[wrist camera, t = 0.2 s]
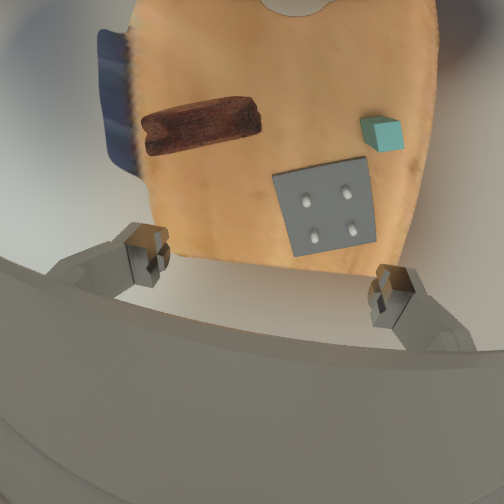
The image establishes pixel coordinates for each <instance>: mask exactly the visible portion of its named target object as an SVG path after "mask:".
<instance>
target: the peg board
mask: <svg viewBox="0 0 504 504" xmlns="http://www.w3.org/2000/svg"><path fill="white" fill-rule="evenodd" d="M272 179H273V183H274V186H275V189H276V193H277V196H278V200H279V203H280V207H281V210H282V214H283V217H284V221H285V225H286V228H287V232H288V236H289V239H290V243H291V247H292V250H293V254H294V257H298V256H304V255H309V254H314V253H320V252H325V251H330V250H336V249H341V248H346V247H352V246H357V245H362V244H367V243H372V242H377V241H376V228H375V217H374V208H373V199H372V191H371V184H370V177H369V170H368V164H367V158H366V157H365V156H364V157H358V158H352V159H346V160H341V161H336V162H330V163H325V164H320V165H315V166H311V167H306V168H301V169H297V170H292V171H288V172H283V173H279V174H275V175H272Z"/></svg>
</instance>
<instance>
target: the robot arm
mask: <svg viewBox="0 0 504 504" xmlns="http://www.w3.org/2000/svg"><path fill="white" fill-rule="evenodd" d="M260 1H261V2H262V3H263V4H264V5H265V6H266V7H267V8H269V9H270V10H272V11H274V12H276V13H279V14H282V15H286V16H307V15H311V14H313V13H316V12H318V11H319V10H321V9H322V8H323V7H324V6H325V5H327V4H328V3H329V2H332V1H335V0H260ZM168 238H169V234H168V229H167V228H166V227H160V226H155V225H148V224H143V223H136V222H132V223H130V224H129V225H128V226H127V227H126V228H125V229H124V230H123V231H122V232H121V233H120V234H119V235H118V236H117V237H116V238H115V239H114V240H113V241H112V242H110V241H108V242H105V243H102V244H100V245H97V246H94V247H92V248H89V249H87V250H84V251H81V252H79V253H76V254H74V255H71V256H69V257H66V258H64V259H61V260H60V261H59V262H58V263H57V264H56V265H55V266H54V267H53V268H52V269H51V270H50V271H49V272H48V273H47V274H46V275H44V274H41V273H39V272H36V271H33V270H31V269H29V268H26V267H24V266H21V265H19V264H16V263H14V262H12V261H9V260H7V259H5V258H3V257H1V256H0V504H504V350H493V351H477V350H476V347H475V344H474V342H473V339H472V337H471V335H470V332H469V331H468V330H467V329H466V328H465V327H464V326H463V325H462V324H461V323H460V322H459V321H458V320H457V319H456V318H455V317H454V316H453V315H452V314H450V313H449V312H448V311H447V310H446V309H445V308H444V307H443V306H442V305H440V304H439V303H438V302H437V301H436V300H435V299H434V298H433V297H432V296H429V295H427V292H426V290H425V288H424V286H423V284H422V281H421V279H420V277H419V275H418V273H417V271H416V270H415V269H413V268H407V267H406V268H405V267H399V266H393V265H386V264H380V265H379V266H378V268H377V271H376V275H377V278H376V279H375V280H373V281H372V282H371V285H370V287H369V292H368V304H369V306H370V307H371V308H372V309H373V310H372V311H371V319H372V323H373V327H380V328H388V329H392V330H393V332H394V333H395V335H396V336H397V337H398V339H399V340H400V342H401V343H402V344H403V346H404V347H405V349H406V350H394V349H379V348H367V347H356V346H347V345H336V344H329V343H321V342H313V341H306V340H298V339H292V338H285V337H278V336H272V335H266V334H260V333H255V332H250V331H244V330H239V329H234V328H229V327H224V326H219V325H215V324H210V323H205V322H201V321H197V320H192V319H188V318H184V317H180V316H175V315H171V314H168V313H164V312H160V311H156V310H152V309H149V308H145V307H141V306H137V305H134V304H131V303H127V302H124V301H120V300H117V299H114V297H116V296H117V295H119V294H120V293H122V292H124V291H125V290H127V289H128V288H130V287H132V286H133V285H134V284H136V285H141V286H145V287H150V288H153V287H154V286H155V284H156V283H157V281H158V280H159V278H160V272H162V271H164V270H165V269H166V268H167V266H168V263H169V260H170V247H169V246H168V244H167V243H166V241H167V240H168Z"/></svg>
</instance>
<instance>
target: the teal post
mask: <svg viewBox="0 0 504 504" xmlns="http://www.w3.org/2000/svg"><path fill="white" fill-rule="evenodd" d="M360 122H361V127H362V131H363V136H364V141H365V143H366V144H368V145H369V146H371V147H372V148H374V149H375V150H376V151H378V152H385V151H392V150H399V149H404V142H403V136H402V129H401V124H400V121H398V120H395V119H391V118H388V117H384V116H378V117H371V118H364V119H360Z"/></svg>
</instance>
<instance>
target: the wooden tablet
mask: <svg viewBox="0 0 504 504" xmlns="http://www.w3.org/2000/svg"><path fill="white" fill-rule="evenodd" d="M141 125H142V128H143V129H144V131H145V132H146V133H147V136H146V140H145V147H146V152H147V154H148V155H149V156H157V155H164V154H169V153H175V152H180V151H184V150H189V149H194V148H198V147H202V146H206V145H211V144H215V143H220V142H224V141H229V140H234V139H239V138H241V137H243V138H244V137H248V136H252V135H255V134H258V133H260V132H261V130H262V129H261V116H260V113H259V112H258V111H257V106H256V104H255V102H254V101H253V99H252V98H250V97H242V96H233V97H224V98H219V99H213V100H208V101H204V102H199V103H193V104H189V105H184V106H179V107H175V108H172V109H168V110H164V111H160V112H157V113H153V114H150V115H148V116H145V117H144V118H142V120H141Z"/></svg>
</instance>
